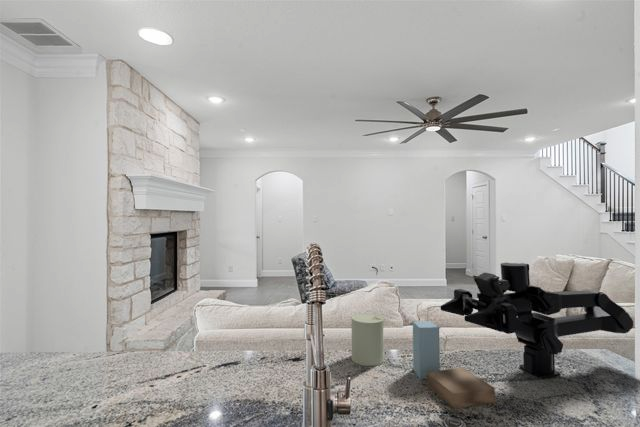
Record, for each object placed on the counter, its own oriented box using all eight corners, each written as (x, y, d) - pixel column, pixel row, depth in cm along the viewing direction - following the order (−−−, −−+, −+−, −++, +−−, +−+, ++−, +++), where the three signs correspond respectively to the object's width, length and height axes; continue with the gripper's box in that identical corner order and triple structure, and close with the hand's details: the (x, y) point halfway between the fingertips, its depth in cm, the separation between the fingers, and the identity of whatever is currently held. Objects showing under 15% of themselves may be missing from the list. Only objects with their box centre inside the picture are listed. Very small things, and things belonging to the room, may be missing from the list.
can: (384, 367, 85) (383, 322, 85) (349, 364, 87) (349, 320, 87) (384, 353, 94) (383, 312, 94) (352, 351, 96) (352, 310, 96)
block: (432, 369, 84) (431, 321, 84) (439, 378, 79) (439, 327, 79) (413, 369, 84) (412, 321, 84) (419, 378, 79) (419, 327, 79)
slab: (463, 379, 78) (463, 367, 78) (494, 402, 68) (494, 387, 68) (426, 384, 76) (426, 372, 76) (454, 408, 66) (453, 394, 66)
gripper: (478, 268, 90) (428, 273, 86) (537, 279, 72) (477, 287, 68) (480, 308, 90) (431, 315, 86) (540, 329, 71) (480, 339, 68)
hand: (452, 313), depth 77 cm, fingers open, 9 cm apart
